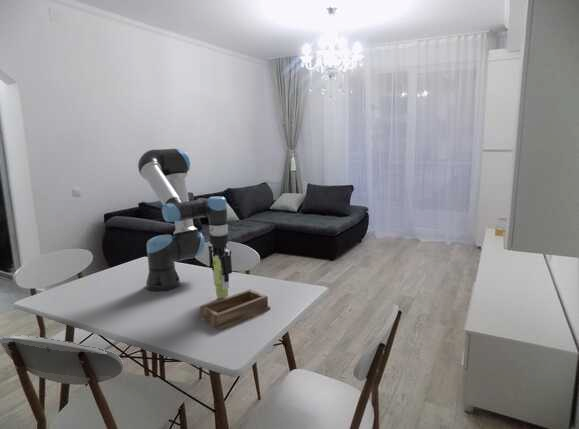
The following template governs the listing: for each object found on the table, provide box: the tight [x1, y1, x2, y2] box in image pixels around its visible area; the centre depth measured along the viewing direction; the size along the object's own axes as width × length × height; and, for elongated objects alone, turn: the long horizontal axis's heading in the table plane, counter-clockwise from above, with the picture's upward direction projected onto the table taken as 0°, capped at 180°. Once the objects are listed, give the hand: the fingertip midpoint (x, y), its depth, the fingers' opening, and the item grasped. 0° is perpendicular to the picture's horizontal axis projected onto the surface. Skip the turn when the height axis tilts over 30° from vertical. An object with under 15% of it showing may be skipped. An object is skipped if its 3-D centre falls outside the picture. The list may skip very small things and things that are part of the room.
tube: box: [212, 252, 229, 299], centre depth 166 cm, size 6×5×20 cm
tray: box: [198, 289, 271, 331], centre depth 153 cm, size 14×24×5 cm, turn 134°
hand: (221, 286), depth 168 cm, fingers closed on tube, 6 cm apart
